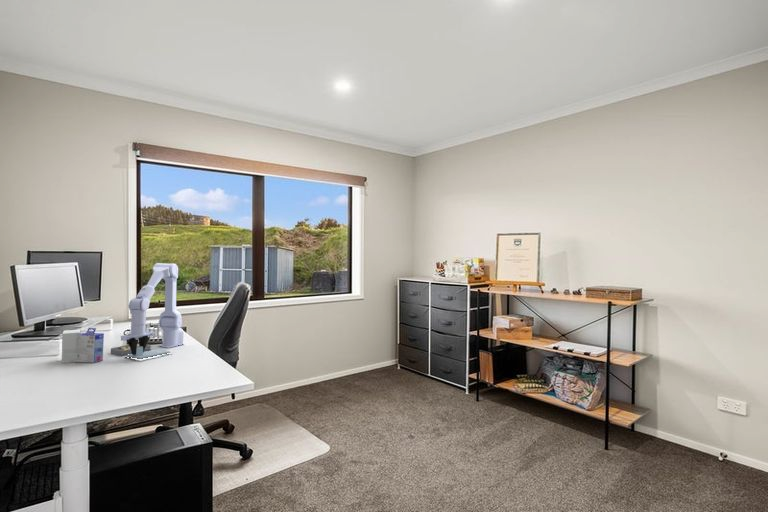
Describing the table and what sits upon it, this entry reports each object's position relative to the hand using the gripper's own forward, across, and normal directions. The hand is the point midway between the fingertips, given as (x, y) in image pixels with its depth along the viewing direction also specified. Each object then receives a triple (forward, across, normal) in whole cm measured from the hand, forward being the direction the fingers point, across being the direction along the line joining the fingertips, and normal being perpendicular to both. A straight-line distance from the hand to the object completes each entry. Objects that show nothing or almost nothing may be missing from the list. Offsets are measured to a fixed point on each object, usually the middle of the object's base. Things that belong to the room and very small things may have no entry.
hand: (137, 353), depth 187 cm
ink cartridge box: (+2, +14, -13) cm, 19 cm away
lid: (+2, -5, 0) cm, 6 cm away
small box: (+2, +17, -20) cm, 27 cm away
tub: (+2, -6, -14) cm, 15 cm away
